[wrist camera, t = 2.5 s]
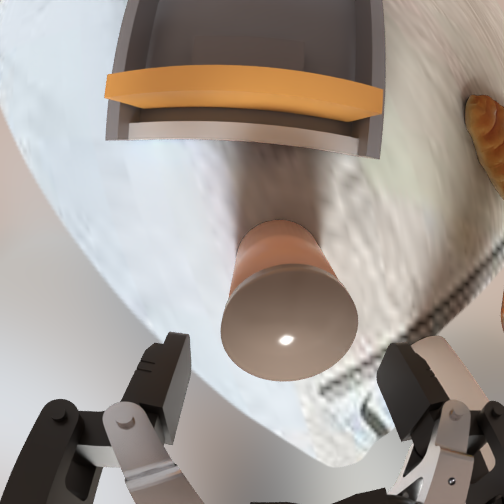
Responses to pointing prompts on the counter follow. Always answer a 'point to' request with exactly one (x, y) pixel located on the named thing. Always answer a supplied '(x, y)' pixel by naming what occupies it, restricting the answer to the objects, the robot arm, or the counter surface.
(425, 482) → the robot arm
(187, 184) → the counter surface
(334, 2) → the lane
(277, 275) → the jar
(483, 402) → the cylindrical container
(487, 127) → the pastry
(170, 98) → the pusher
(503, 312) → the tin
